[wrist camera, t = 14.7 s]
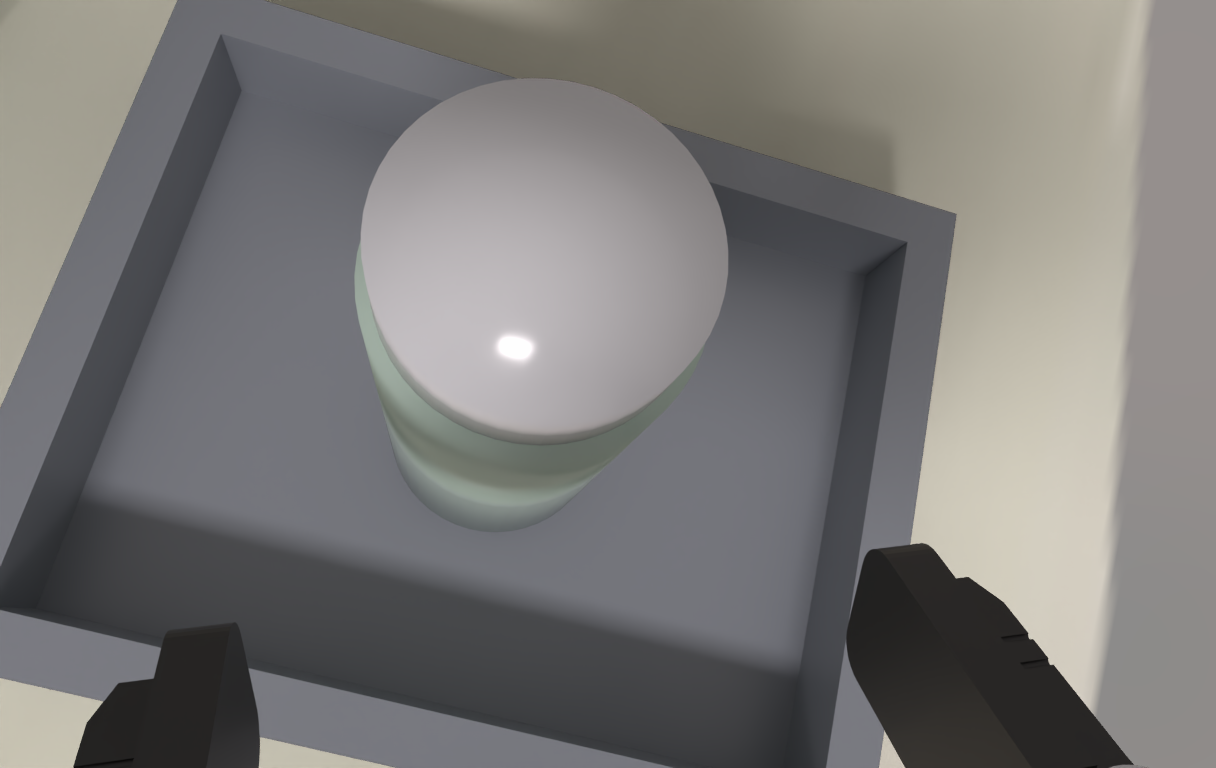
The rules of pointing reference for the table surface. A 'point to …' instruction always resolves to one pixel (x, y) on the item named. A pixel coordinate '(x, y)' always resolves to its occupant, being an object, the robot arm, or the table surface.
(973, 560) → the table surface
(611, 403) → the shaker
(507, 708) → the tray
